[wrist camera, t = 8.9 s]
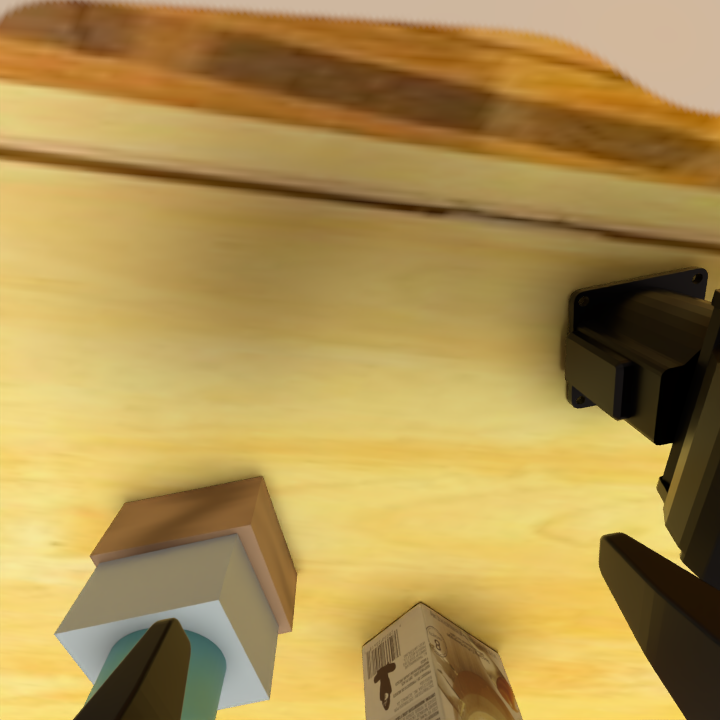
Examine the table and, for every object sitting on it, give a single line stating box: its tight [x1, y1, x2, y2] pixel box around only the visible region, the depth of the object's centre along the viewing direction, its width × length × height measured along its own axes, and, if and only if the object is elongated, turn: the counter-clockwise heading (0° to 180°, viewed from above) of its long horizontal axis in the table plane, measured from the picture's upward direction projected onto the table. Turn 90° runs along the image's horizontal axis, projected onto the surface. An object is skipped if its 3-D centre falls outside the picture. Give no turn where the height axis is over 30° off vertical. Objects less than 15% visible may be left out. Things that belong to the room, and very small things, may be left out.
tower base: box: [90, 476, 297, 634], centre depth 23 cm, size 8×8×4 cm
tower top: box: [54, 534, 279, 710], centre depth 20 cm, size 7×7×4 cm
